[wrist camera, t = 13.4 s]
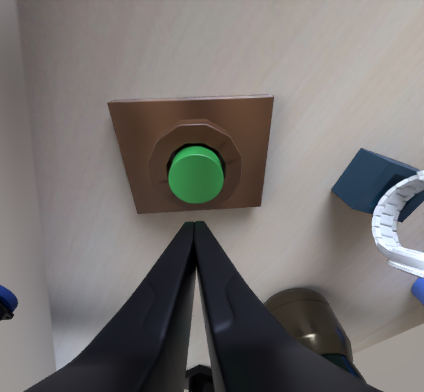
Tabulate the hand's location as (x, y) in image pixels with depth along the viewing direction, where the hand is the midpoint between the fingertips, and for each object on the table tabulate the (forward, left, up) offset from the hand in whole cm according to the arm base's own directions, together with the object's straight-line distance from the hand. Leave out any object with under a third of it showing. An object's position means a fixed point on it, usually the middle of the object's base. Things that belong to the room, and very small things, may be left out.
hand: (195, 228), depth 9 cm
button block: (0, 0, -9) cm, 9 cm away
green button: (0, 0, -6) cm, 6 cm away
